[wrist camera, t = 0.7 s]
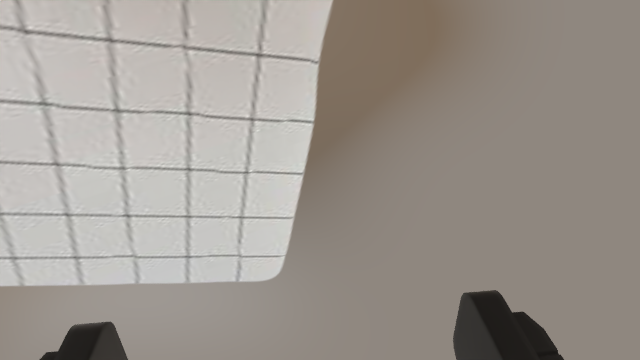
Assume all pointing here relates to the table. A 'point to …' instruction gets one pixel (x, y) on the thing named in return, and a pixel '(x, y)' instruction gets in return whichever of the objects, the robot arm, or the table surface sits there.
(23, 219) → the table surface
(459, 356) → the robot arm
